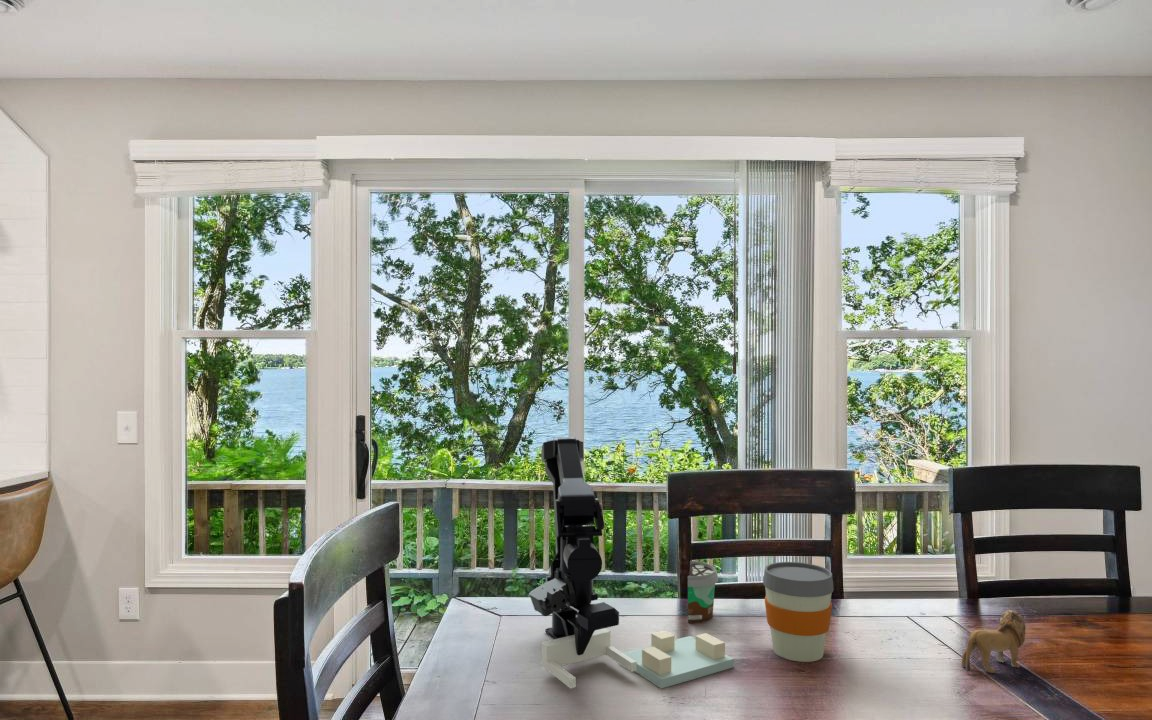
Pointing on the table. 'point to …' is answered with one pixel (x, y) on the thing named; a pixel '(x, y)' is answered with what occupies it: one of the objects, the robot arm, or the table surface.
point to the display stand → (680, 658)
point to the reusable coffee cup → (798, 609)
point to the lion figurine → (997, 640)
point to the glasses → (565, 653)
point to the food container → (701, 591)
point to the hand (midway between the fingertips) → (576, 652)
